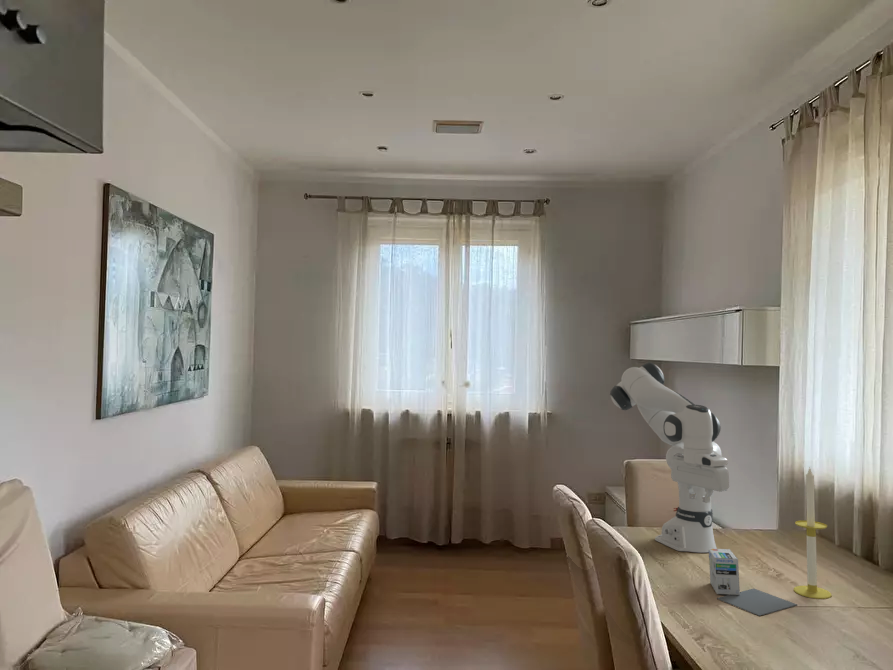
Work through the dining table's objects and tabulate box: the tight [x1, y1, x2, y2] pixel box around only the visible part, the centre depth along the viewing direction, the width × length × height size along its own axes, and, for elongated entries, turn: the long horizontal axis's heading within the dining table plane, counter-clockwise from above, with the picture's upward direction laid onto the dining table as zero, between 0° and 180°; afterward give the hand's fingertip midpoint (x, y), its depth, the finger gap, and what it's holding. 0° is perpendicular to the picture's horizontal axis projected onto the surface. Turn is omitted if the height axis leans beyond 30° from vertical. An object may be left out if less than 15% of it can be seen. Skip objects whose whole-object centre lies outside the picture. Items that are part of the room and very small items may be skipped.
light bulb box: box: [708, 548, 741, 595], centre depth 196 cm, size 11×7×11 cm, turn 168°
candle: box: [793, 466, 833, 600], centre depth 194 cm, size 10×10×38 cm
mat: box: [716, 587, 798, 617], centre depth 186 cm, size 14×16×1 cm
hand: (699, 500), depth 205 cm, fingers open, 4 cm apart
